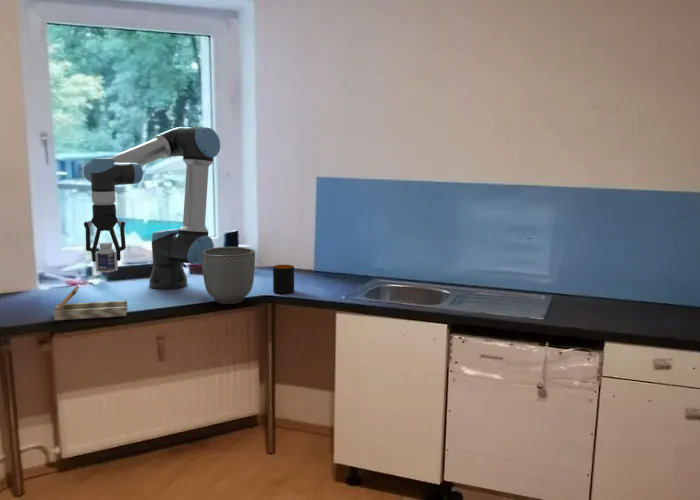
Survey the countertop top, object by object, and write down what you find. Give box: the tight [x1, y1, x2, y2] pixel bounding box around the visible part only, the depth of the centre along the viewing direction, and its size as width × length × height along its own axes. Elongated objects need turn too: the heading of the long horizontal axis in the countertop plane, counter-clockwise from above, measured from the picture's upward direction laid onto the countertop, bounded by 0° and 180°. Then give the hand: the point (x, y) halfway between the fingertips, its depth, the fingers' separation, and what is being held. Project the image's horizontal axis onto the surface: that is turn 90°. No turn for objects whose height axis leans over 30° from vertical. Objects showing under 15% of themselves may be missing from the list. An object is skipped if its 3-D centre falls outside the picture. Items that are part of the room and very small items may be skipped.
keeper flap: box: [59, 285, 80, 308], centre depth 236 cm, size 7×9×1 cm
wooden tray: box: [53, 300, 128, 321], centre depth 239 cm, size 23×10×4 cm, turn 105°
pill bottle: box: [97, 242, 116, 273], centre depth 238 cm, size 5×5×10 cm
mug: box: [272, 264, 295, 296], centre depth 274 cm, size 8×12×10 cm
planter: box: [201, 246, 256, 305], centre depth 257 cm, size 20×20×19 cm
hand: (107, 270), depth 239 cm, fingers closed on pill bottle, 5 cm apart
